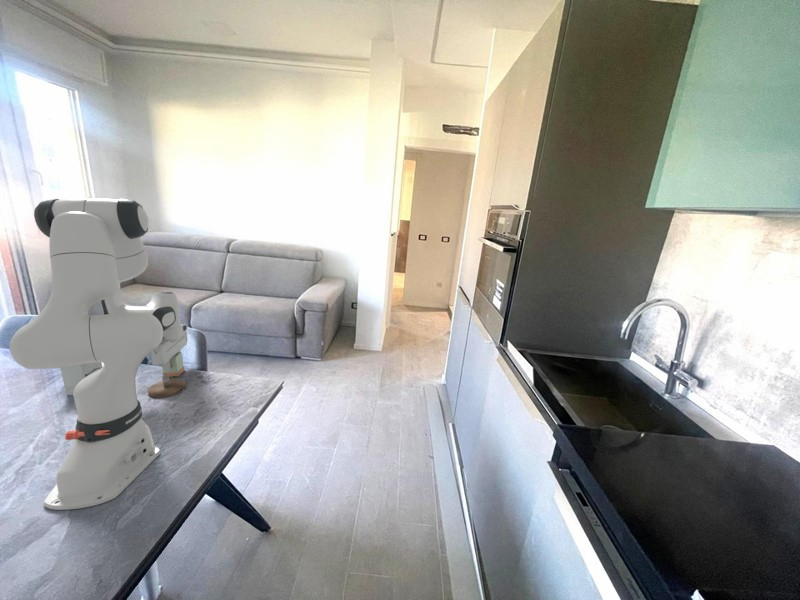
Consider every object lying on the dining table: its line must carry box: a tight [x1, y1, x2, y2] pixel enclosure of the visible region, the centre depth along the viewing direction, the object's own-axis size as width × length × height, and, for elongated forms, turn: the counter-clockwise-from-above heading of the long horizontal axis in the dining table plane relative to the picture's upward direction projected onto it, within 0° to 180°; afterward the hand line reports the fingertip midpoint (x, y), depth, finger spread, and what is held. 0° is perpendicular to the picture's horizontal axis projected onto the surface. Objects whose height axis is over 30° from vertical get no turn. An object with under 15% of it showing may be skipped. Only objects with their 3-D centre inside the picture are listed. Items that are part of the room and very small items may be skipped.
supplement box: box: [59, 362, 103, 396], centre depth 110 cm, size 7×7×13 cm
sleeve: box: [161, 351, 185, 378], centre depth 124 cm, size 5×5×8 cm
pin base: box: [147, 374, 186, 399], centre depth 114 cm, size 11×11×6 cm
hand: (172, 365), depth 125 cm, fingers open, 5 cm apart
